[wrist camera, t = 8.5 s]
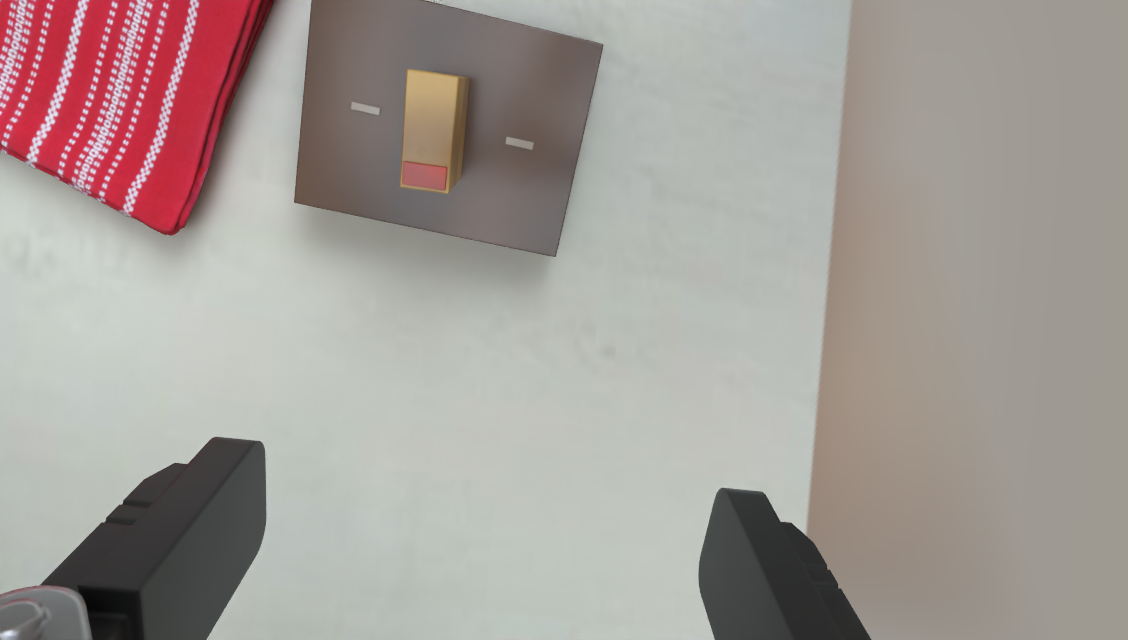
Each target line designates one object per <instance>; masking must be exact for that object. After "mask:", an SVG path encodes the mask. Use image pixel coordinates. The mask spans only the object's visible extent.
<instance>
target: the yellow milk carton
mask: <svg viewBox="0 0 1128 640" xmlns="http://www.w3.org/2000/svg"><path fill="white" fill-rule="evenodd" d="M469 85H470V78H469V77H465V76H459V75H452V74H446V73H439V72H433V71H425V70H412V69H408V70H407V73H406V90H405V106H404V122H403V138H402V154H401V171H400V187H401V188H407V189H415V190H422V191H429V192H436V193H443V194H449V192H450V191H451V190H452V189H453V187H454V186H455V185H456V183H457V182H458V181H459V180H460V178H461V172H462V161H463V150H464V139H465V128H466V117H467V107H468V96H469Z"/></svg>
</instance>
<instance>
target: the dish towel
mask: <svg viewBox="0 0 1128 640" xmlns="http://www.w3.org/2000/svg"><path fill="white" fill-rule="evenodd" d="M273 1H274V0H0V150H1V151H3V152H4V153H6V154H9V155H12V156H14V157H16V158H18V159H19V160H21V161H23V162H26V163H27V164H28V165H30V166H31V167H33V168H36V169H40V170H41V171H43V172H46V173H48V174H50V175H52V176H54V177H55V178H56V179H57V180H60V181H63V182H65V183H66V184H68V185H69V186H71V187H72V188H74V189H76V190H78V191H80V192H82V193H84V194H85V195H88V196H91V197H94V198H95V199H97V200H98V201H99V202H101V203H103V204H106V205H108V206H110V207H112V208H113V209H115V210H117V211H119V212H120V213H121V214H123V215H125V216H127V217H132V218H134V219H137V220H138V221H140V222H142V223H144V224H145V225H147V226H148V227H150V228H152V229H154V230H156V231H158V232H160V233H162V234H164V235H174V234H176V233H177V232H178V231H179V230H180V229H181V228H184V226H185V225H186V222H187V220H188V218H189V216H190V213H191V210H192V208H193V206H194V204H195V202H196V201H197V199H198V196H199V194H200V191H201V188H202V185H203V182H204V179H205V175H206V173H207V171H208V169H209V165H210V162H211V158H212V155H213V151H214V147H215V143H216V139H217V136H218V134H219V132H220V130H221V127H222V124H223V122H224V119H225V116H226V114H227V111H228V108H229V106H230V104H231V102H232V99H233V97H234V95H235V92H236V89H237V87H238V84H239V82H240V80H241V77H242V75H243V73H244V71H245V69H246V66H247V64H248V62H249V59H250V56H251V54H252V51H253V49H254V46H255V43H256V41H257V38H258V36H259V34H260V32H261V30H262V28H263V24H264V22H265V19H266V17H267V15H268V12H269V10H270V8H271V5H272V3H273Z"/></svg>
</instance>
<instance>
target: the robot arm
mask: <svg viewBox="0 0 1128 640" xmlns="http://www.w3.org/2000/svg"><path fill="white" fill-rule="evenodd" d="M265 525H266V470H265V448H264V445H263V443H262V442H261V441H253V440H243V439H233V438H223V437H214V438H212V439H211V440H210V441H209V442H208V443H207V444H206V445H205V446H204V447H203V448H202V449H201V450H200V451H199V452H198V454H197V455H196V456H195V457H194V458H193V459H192V460H191V461H190V462H189V463H188V464H180V463H174V464H172V465H170V466H168V467H166V468H165V469H163V470H161V471H159V472H157V473H155V474H153V475H152V476H150V477H148V478H146V479H144V480H143V481H142V482H141V483H140V484H139V485H138V486H137V487H136V488H135V489H134V490H133V491H132V492H131V493H130V494H129V495H128V496H127V497H126V498H125V499H124V500H123V504H122V505H119V506H118V507H117V508H116V509H115V510H114V511H113V512H112V513H111V514H110V515H109V516H108V517H107V518H106V521H105V523H101V524H100V525H99V526H98V527H97V528H96V529H95V530H94V531H93V532H92V533H91V534H90V535H89V536H88V537H87V538H86V539H85V540H84V541H83V542H82V543H81V544H80V545H79V546H78V547H77V548H76V549H75V550H74V551H73V552H72V553H71V554H70V555H69V556H68V557H67V558H66V559H65V560H64V561H63V562H62V563H61V564H60V565H59V566H58V567H57V568H56V569H55V570H54V571H53V572H52V573H51V574H50V575H49V576H48V577H47V578H46V579H45V580H44V581H43V583H42V584H41V585H40V586H32V587H26V588H21V589H17V590H13V591H10V592H7V593H4V594H1V595H0V640H206V639H207V638H208V636H209V634H210V633H211V631H212V629H213V627H214V626H215V624H216V622H217V621H218V619H219V617H220V616H221V614H222V612H223V611H224V609H225V607H226V606H227V604H228V602H229V601H230V599H231V597H232V595H233V594H234V592H235V590H236V589H237V587H238V585H239V584H240V582H241V580H242V579H243V577H244V575H245V574H246V572H247V570H248V569H249V567H250V565H251V564H252V562H253V560H254V558H255V557H256V555H257V553H258V551H259V548H260V546H261V543H262V540H263V536H264V531H265ZM699 587H700V593H701V597H702V600H703V603H704V606H705V609H706V612H707V616H708V619H709V622H710V625H711V628H712V632H713V635H714V638H715V640H871V639H870V637H869V635H868V633H867V632H866V630H865V628H864V627H863V625H862V623H861V622H860V620H859V618H858V617H857V615H856V613H855V612H854V610H853V608H852V607H851V605H850V603H849V601H848V600H847V598H846V596H845V595H844V593H843V591H842V590H841V589H838V583H837V581H836V580H835V578H834V576H833V575H832V573H831V571H830V570H827V564H826V563H825V561H824V559H823V558H822V556H821V554H820V553H819V551H818V549H817V547H816V546H815V544H814V543H813V542H812V541H811V540H810V539H809V538H808V537H807V536H805V535H804V534H803V533H802V532H801V531H800V530H799V529H798V528H797V527H795V526H794V525H793V524H792V523H788V522H780V520H779V518H778V516H777V515H776V513H775V511H774V509H773V507H772V505H771V504H770V502H769V500H768V498H767V496H766V495H765V494H764V493H763V492H759V491H749V490H739V489H729V488H721V489H719V491H718V492H717V494H716V497H715V500H714V504H713V508H712V512H711V516H710V520H709V524H708V528H707V532H706V536H705V540H704V544H703V548H702V552H701V556H700V562H699Z"/></svg>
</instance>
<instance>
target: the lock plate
mask: <svg viewBox="0 0 1128 640" xmlns="http://www.w3.org/2000/svg"><path fill="white" fill-rule="evenodd" d="M602 49H603V44H600V43H596V42H592V41H588V40H584V39H580V38H576V37H572V36H568V35H564V34H560V33H556V32H552V31H548V30H543V29H539V28H535V27H531V26H527V25H523V24H519V23H515V22H511V21H507V20H503V19H499V18H495V17H491V16H487V15H483V14H478V13H474V12H470V11H466V10H462V9H458V8H454V7H450V6H446V5H442V4H438V3H434V2H430V1H426V0H312V3H311V14H310V26H309V37H308V49H307V60H306V72H305V83H304V95H303V106H302V118H301V129H300V141H299V152H298V163H297V175H296V186H295V198H294V202H295V203H298V204H303V205H308V206H313V207H317V208H322V209H327V210H332V211H337V212H341V213H346V214H351V215H356V216H361V217H365V218H370V219H375V220H380V221H384V222H389V223H394V224H399V225H404V226H408V227H413V228H418V229H423V230H428V231H432V232H437V233H442V234H447V235H452V236H456V237H461V238H466V239H471V240H476V241H480V242H485V243H490V244H495V245H500V246H504V247H509V248H514V249H519V250H524V251H528V252H533V253H538V254H543V255H547V256H552V257H556V253H557V249H558V245H559V240H560V236H561V231H562V227H563V222H564V218H565V214H566V209H567V205H568V200H569V196H570V191H571V187H572V182H573V178H574V174H575V169H576V165H577V160H578V156H579V151H580V147H581V143H582V138H583V134H584V129H585V125H586V120H587V116H588V112H589V107H590V103H591V98H592V94H593V89H594V85H595V80H596V76H597V72H598V67H599V63H600V58H601V54H602ZM408 69H412V70H425V71H433V72H439V73H446V74H452V75H459V76H465V77H469V78H470V85H469V96H468V107H467V117H466V128H465V139H464V150H463V161H462V172H461V178H460V180H459V181H458V182H457V183H456V185H455V186H454V187H453V189H452V190H451V191H450V192H449V194H443V193H436V192H429V191H422V190H415V189H407V188H401V187H400V171H401V154H402V138H403V122H404V106H405V90H406V73H407V70H408Z"/></svg>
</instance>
